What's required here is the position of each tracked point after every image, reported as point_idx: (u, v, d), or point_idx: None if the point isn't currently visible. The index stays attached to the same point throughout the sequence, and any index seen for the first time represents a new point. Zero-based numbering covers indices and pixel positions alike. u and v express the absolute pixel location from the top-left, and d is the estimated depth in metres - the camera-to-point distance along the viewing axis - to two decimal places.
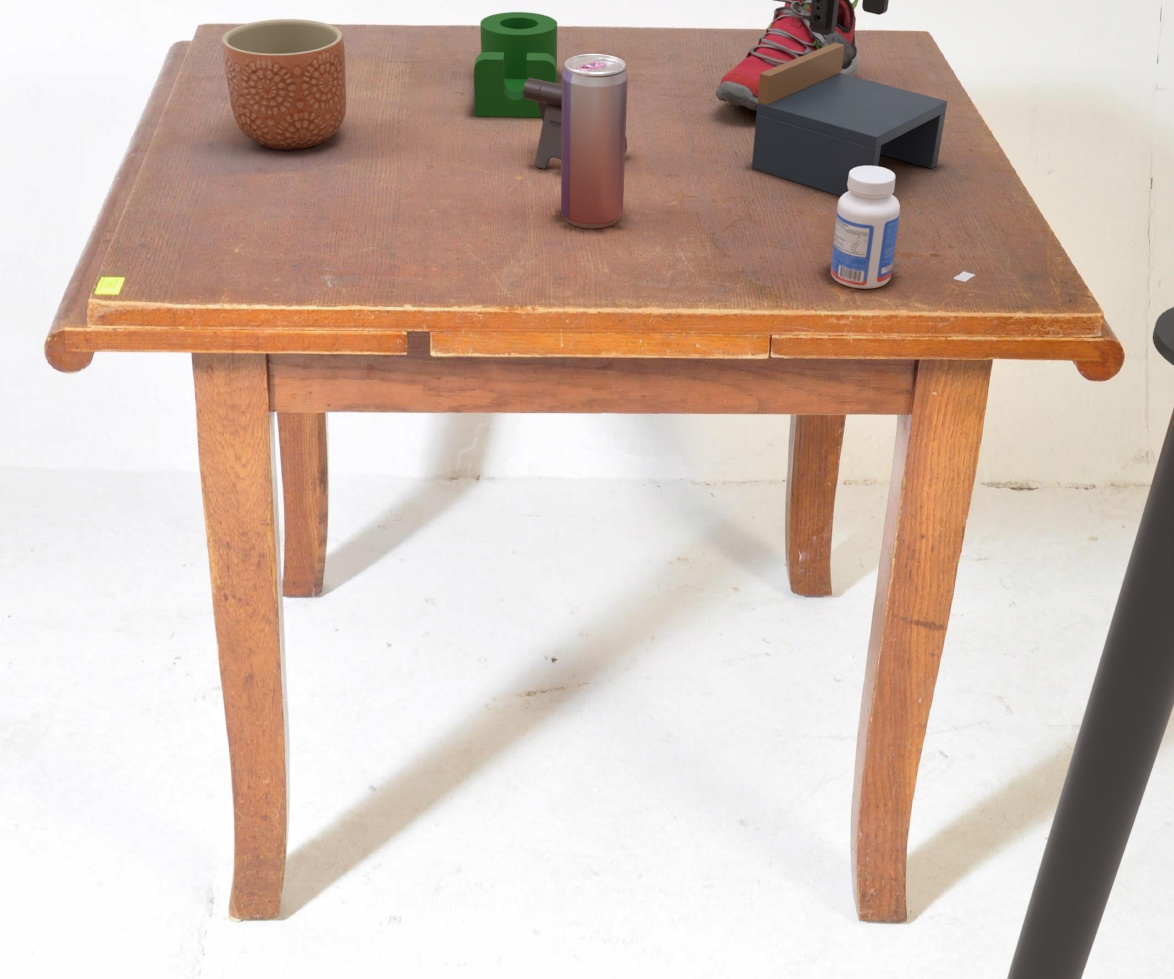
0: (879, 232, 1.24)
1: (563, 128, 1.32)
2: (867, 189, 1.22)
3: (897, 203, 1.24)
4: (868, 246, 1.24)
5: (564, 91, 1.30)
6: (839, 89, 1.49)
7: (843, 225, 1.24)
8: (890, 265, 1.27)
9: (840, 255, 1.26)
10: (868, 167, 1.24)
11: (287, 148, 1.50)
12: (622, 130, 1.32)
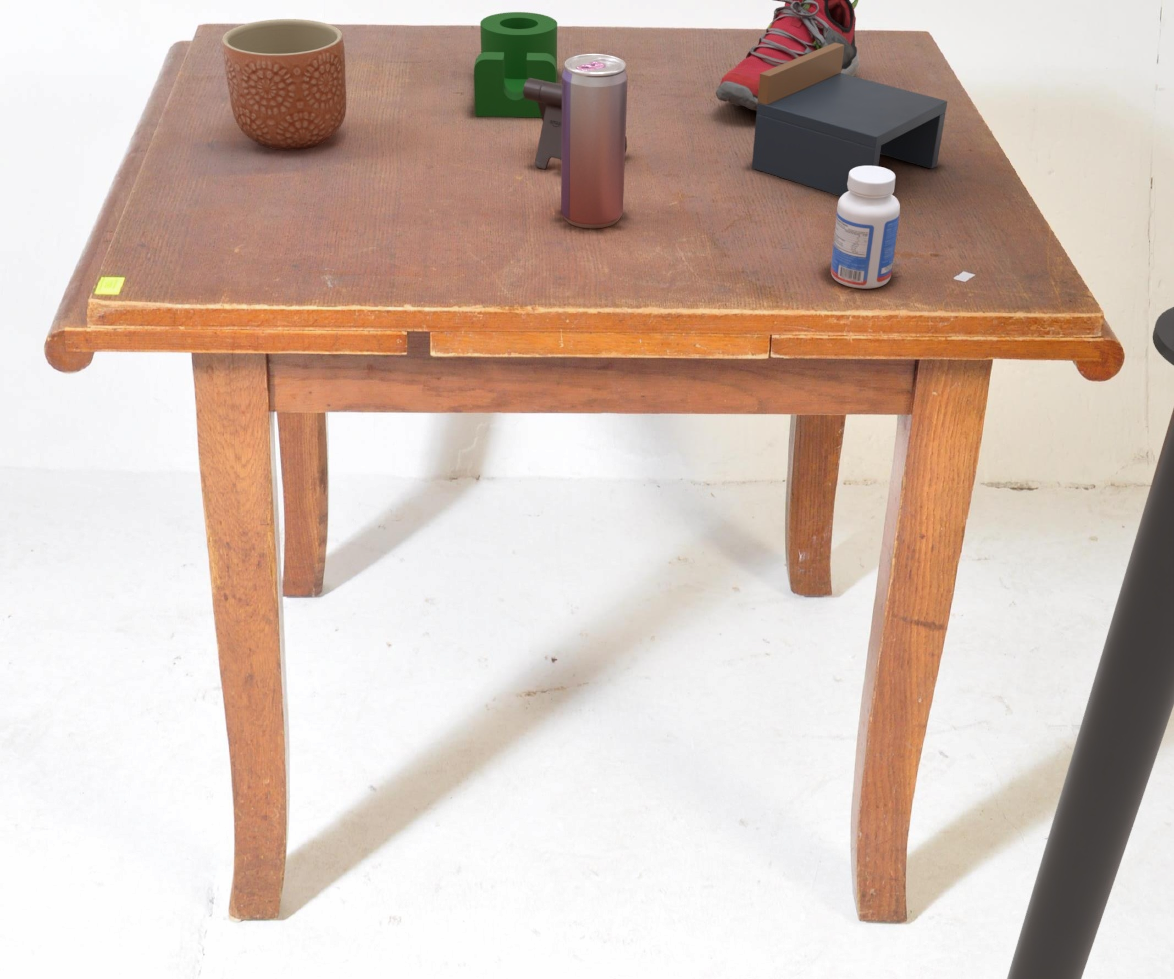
0: (879, 232, 1.24)
1: (563, 128, 1.32)
2: (867, 189, 1.22)
3: (897, 203, 1.24)
4: (868, 246, 1.24)
5: (564, 91, 1.30)
6: (839, 89, 1.49)
7: (843, 225, 1.24)
8: (891, 265, 1.27)
9: (840, 255, 1.26)
10: (868, 167, 1.24)
11: (287, 148, 1.50)
12: (622, 130, 1.32)
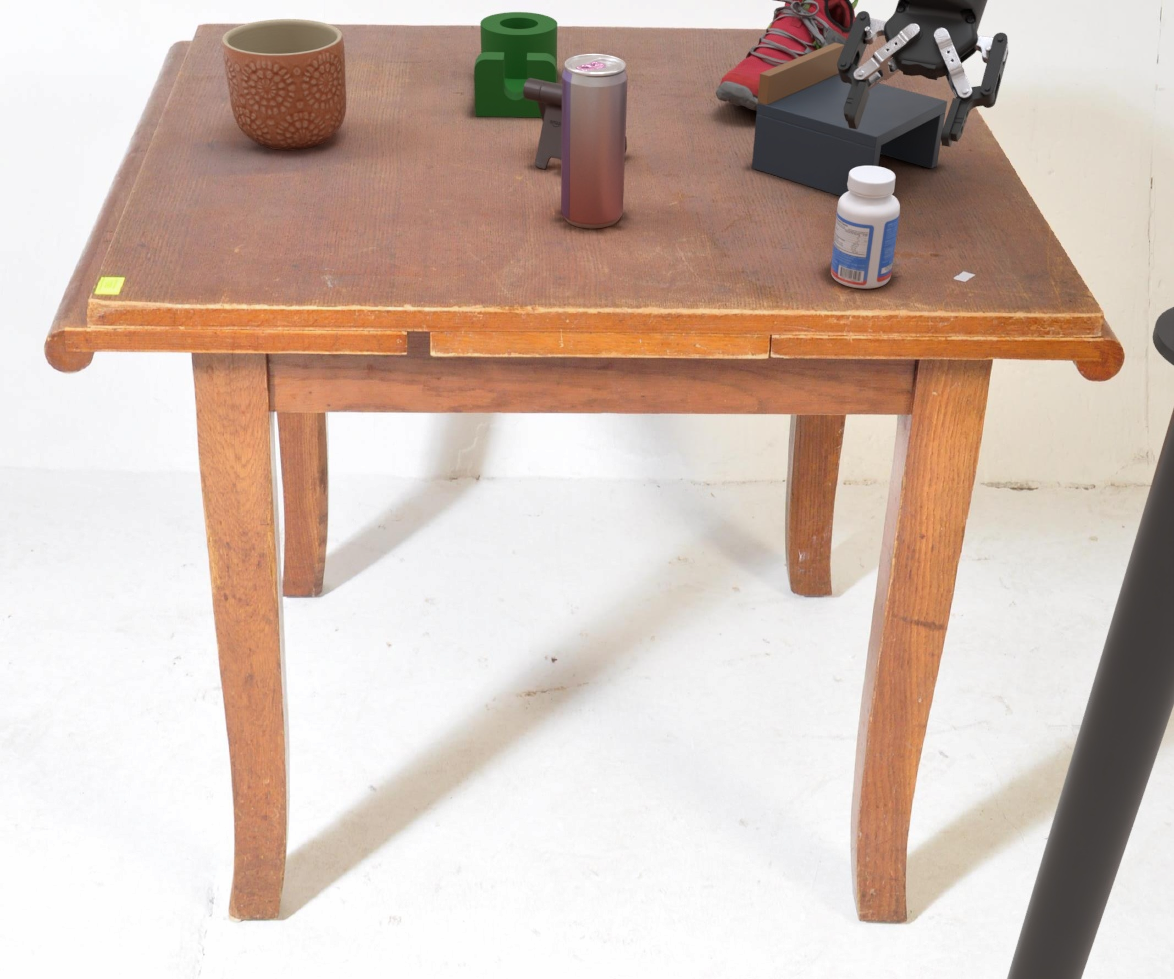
0: (879, 232, 1.24)
1: (563, 128, 1.32)
2: (867, 189, 1.22)
3: (897, 203, 1.24)
4: (868, 246, 1.24)
5: (564, 91, 1.30)
6: (839, 89, 1.49)
7: (843, 225, 1.24)
8: (890, 265, 1.27)
9: (840, 255, 1.26)
10: (868, 167, 1.24)
11: (287, 148, 1.50)
12: (622, 130, 1.32)
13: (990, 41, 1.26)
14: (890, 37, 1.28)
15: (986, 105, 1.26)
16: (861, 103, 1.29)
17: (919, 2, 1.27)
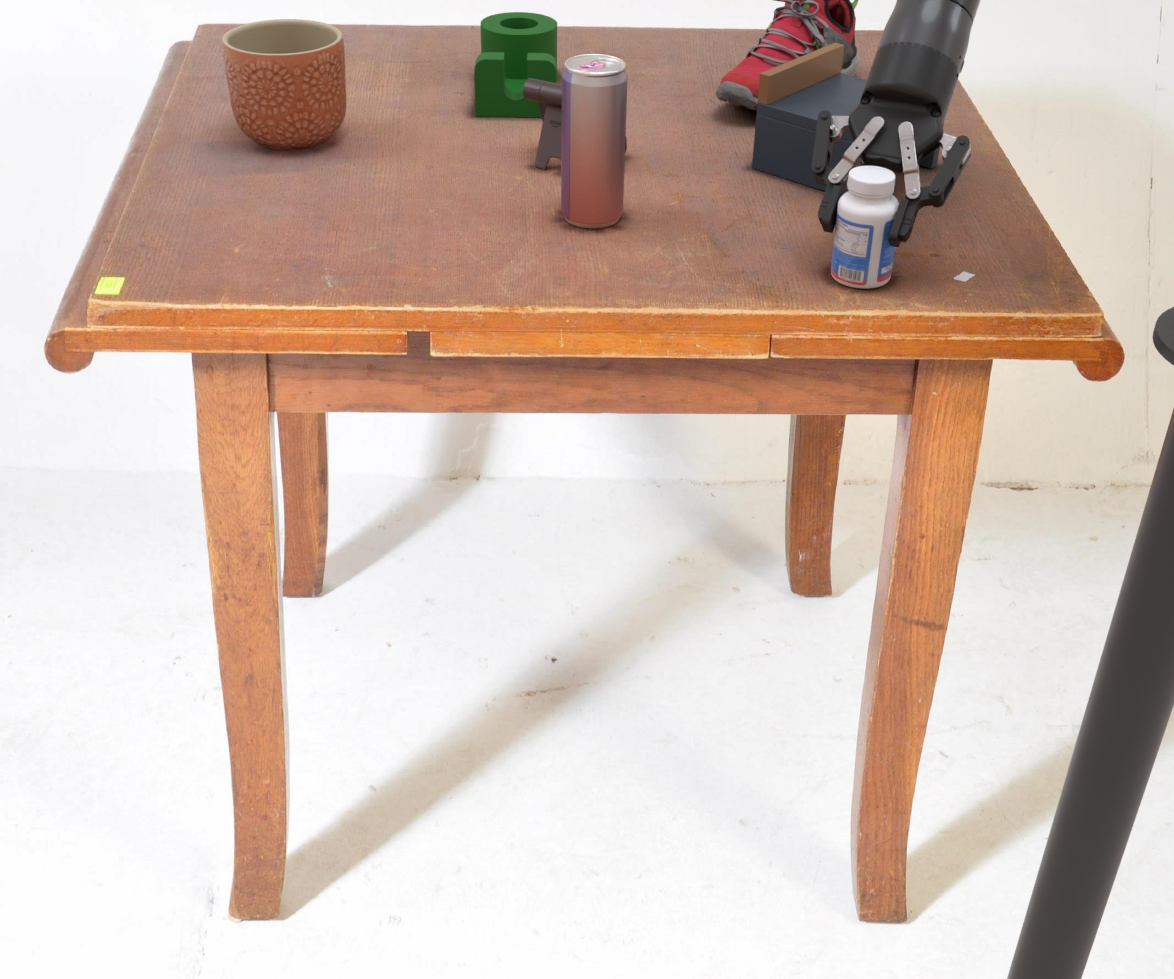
0: (879, 232, 1.24)
1: (563, 128, 1.32)
2: (867, 189, 1.22)
3: (897, 203, 1.24)
4: (868, 246, 1.24)
5: (564, 91, 1.30)
6: (839, 89, 1.49)
7: (843, 225, 1.24)
8: (891, 265, 1.27)
9: (840, 255, 1.26)
10: (868, 167, 1.24)
11: (287, 148, 1.50)
12: (622, 130, 1.32)
13: (953, 141, 1.24)
14: (858, 130, 1.26)
15: (933, 204, 1.24)
16: (836, 207, 1.26)
17: (884, 94, 1.25)
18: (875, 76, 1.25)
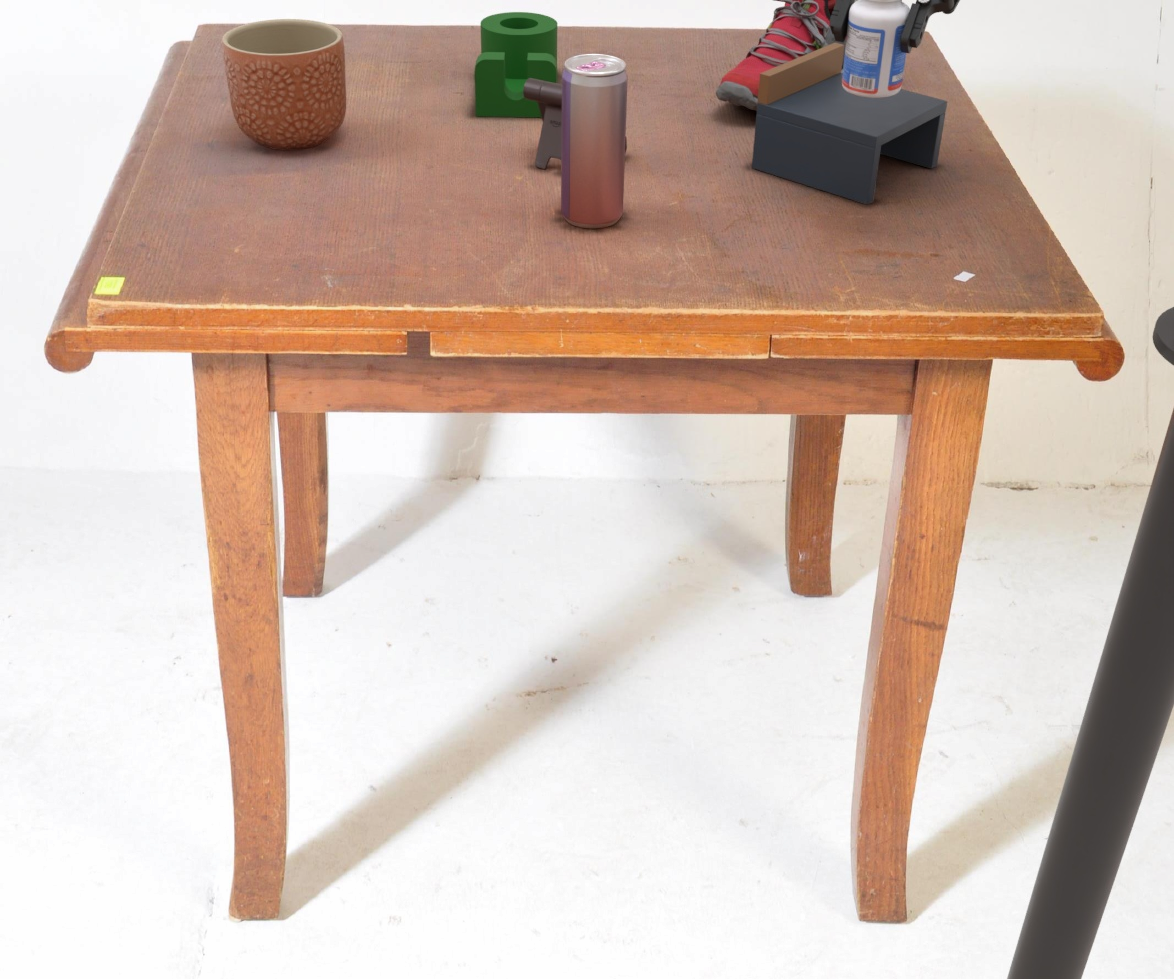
0: (890, 37, 1.25)
1: (563, 128, 1.32)
2: None
3: (908, 9, 1.25)
4: (879, 52, 1.25)
5: (564, 91, 1.30)
6: (839, 89, 1.49)
7: (855, 31, 1.26)
8: (901, 74, 1.28)
9: (851, 63, 1.27)
10: None
11: (287, 148, 1.50)
12: (622, 130, 1.32)
13: None
14: None
15: (944, 11, 1.25)
16: (847, 15, 1.27)
17: None
18: None
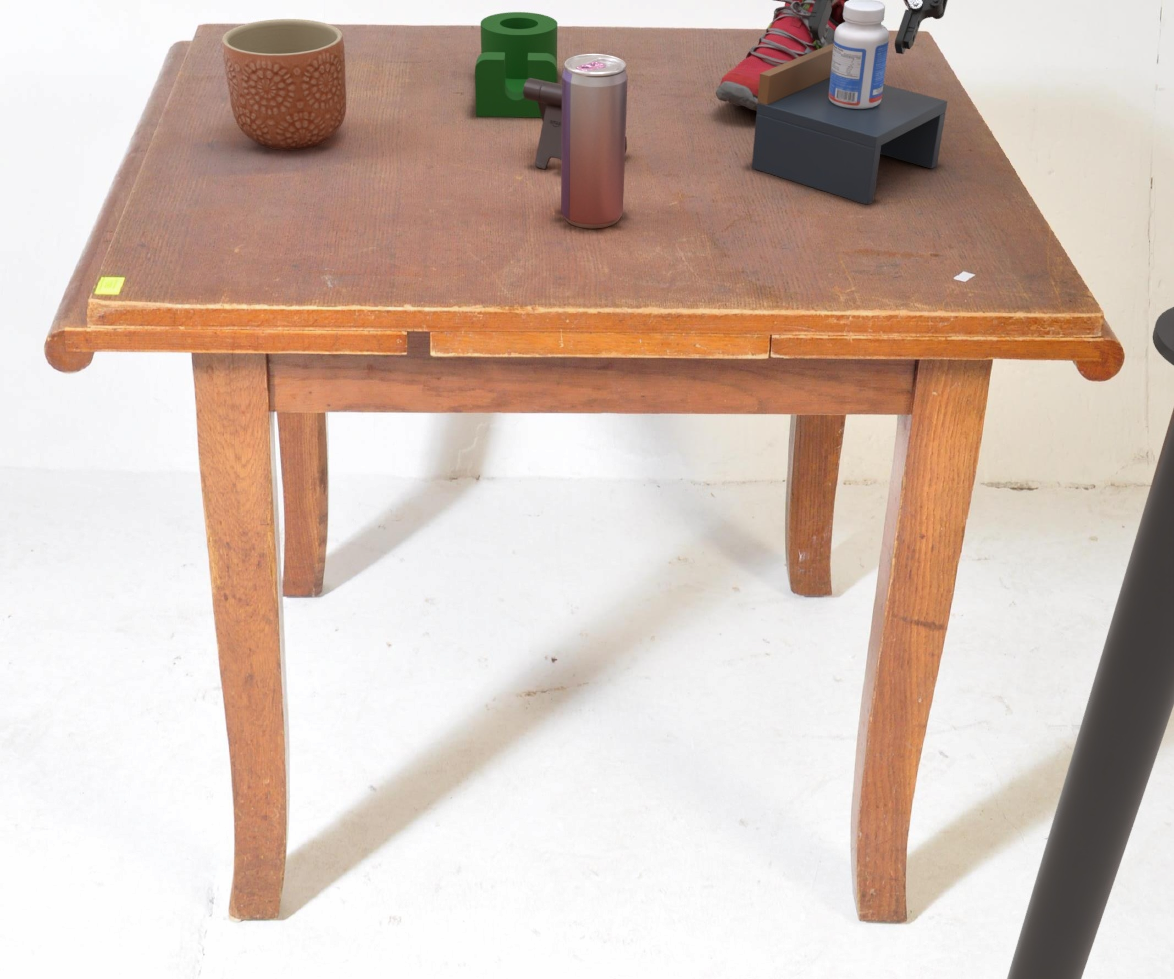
0: (870, 56, 1.41)
1: (563, 128, 1.32)
2: (860, 16, 1.40)
3: (886, 31, 1.42)
4: (861, 69, 1.42)
5: (564, 91, 1.30)
6: None
7: (839, 50, 1.42)
8: (881, 89, 1.44)
9: (837, 79, 1.44)
10: (861, 0, 1.42)
11: (287, 148, 1.50)
12: (622, 130, 1.32)
13: None
14: None
15: (935, 16, 1.41)
16: (824, 16, 1.43)
17: None
18: None
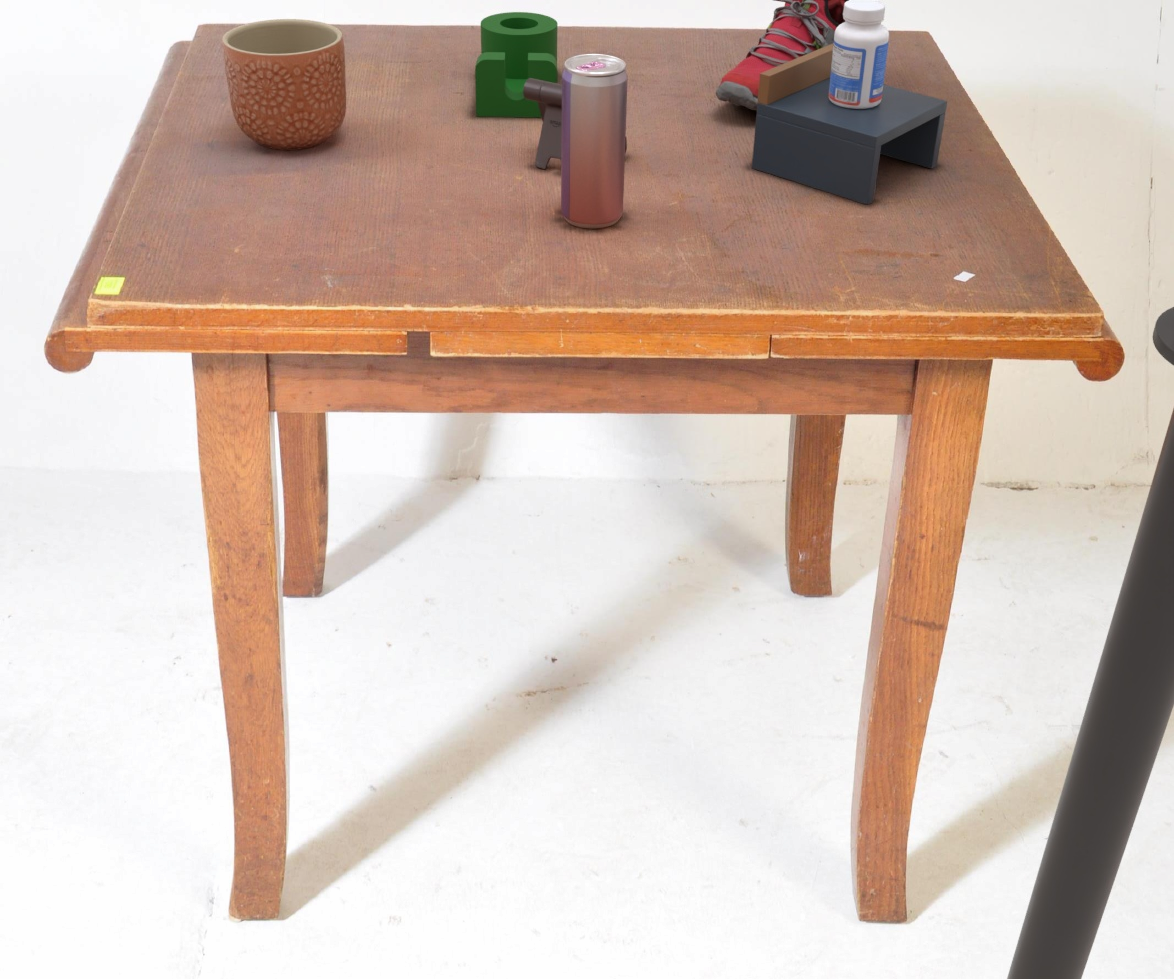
0: (870, 56, 1.41)
1: (563, 128, 1.32)
2: (860, 16, 1.40)
3: (886, 31, 1.42)
4: (861, 68, 1.42)
5: (564, 91, 1.30)
6: None
7: (839, 50, 1.42)
8: (881, 89, 1.44)
9: (837, 79, 1.44)
10: (861, 0, 1.42)
11: (287, 148, 1.50)
12: (622, 130, 1.32)
13: None
14: None
15: None
16: None
17: None
18: None
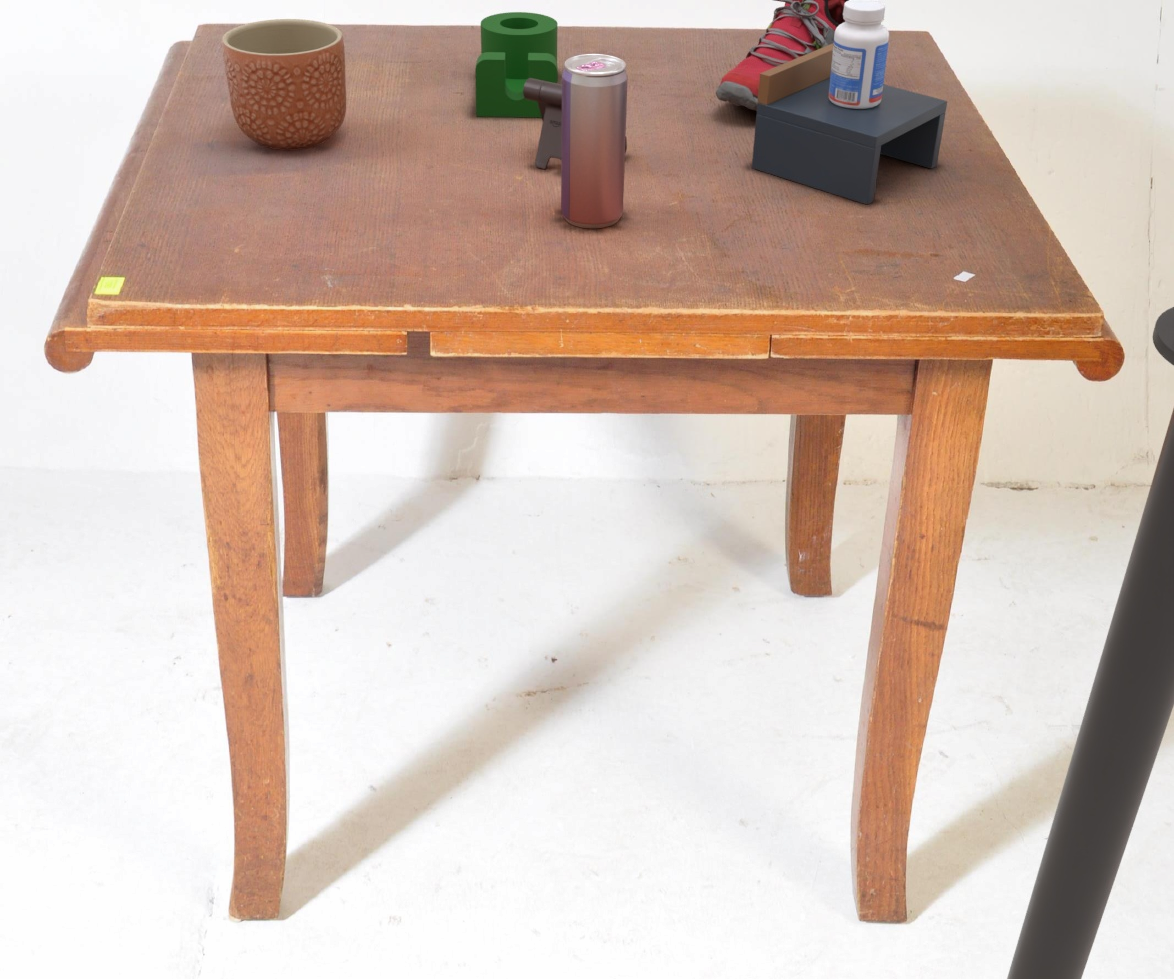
0: (870, 56, 1.41)
1: (563, 128, 1.32)
2: (860, 16, 1.40)
3: (886, 31, 1.42)
4: (861, 68, 1.42)
5: (564, 91, 1.30)
6: None
7: (839, 50, 1.42)
8: (881, 89, 1.44)
9: (837, 79, 1.44)
10: (861, 0, 1.42)
11: (287, 148, 1.50)
12: (622, 130, 1.32)
13: None
14: None
15: None
16: None
17: None
18: None
